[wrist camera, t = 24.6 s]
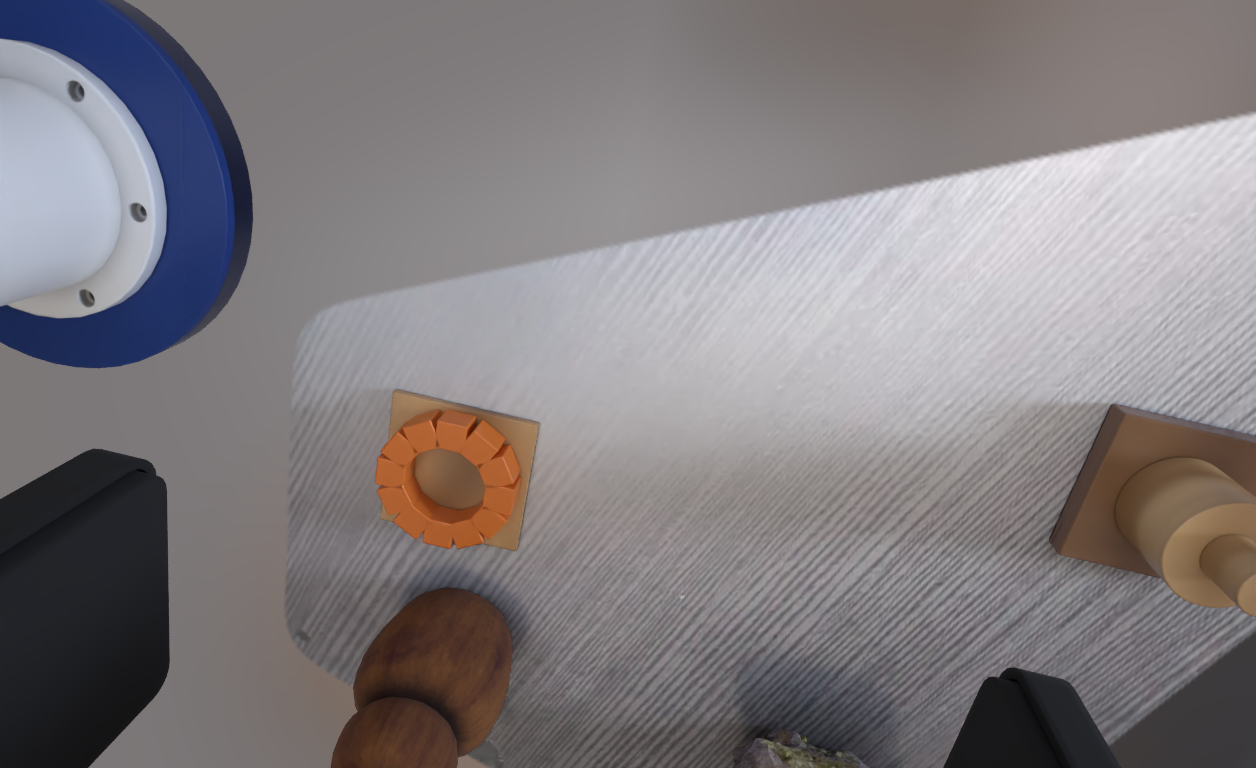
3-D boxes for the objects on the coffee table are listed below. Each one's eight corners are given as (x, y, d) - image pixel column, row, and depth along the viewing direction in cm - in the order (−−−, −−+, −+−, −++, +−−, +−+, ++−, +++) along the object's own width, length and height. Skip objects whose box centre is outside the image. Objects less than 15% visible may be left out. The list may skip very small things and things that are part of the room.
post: (1047, 540, 36) (1127, 650, 29) (1111, 402, 34) (1215, 485, 27) (1201, 576, 36) (1318, 695, 29) (1276, 440, 33) (1425, 533, 26)
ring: (393, 396, 37) (381, 407, 36) (530, 428, 37) (523, 440, 35) (382, 516, 39) (370, 530, 38) (510, 546, 39) (502, 562, 38)
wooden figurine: (544, 606, 41) (449, 876, 27) (502, 684, 43) (394, 973, 29) (424, 550, 40) (264, 793, 26) (388, 631, 42) (222, 897, 28)
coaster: (383, 515, 40) (380, 519, 39) (396, 388, 37) (392, 391, 37) (517, 547, 40) (515, 551, 39) (539, 422, 37) (537, 425, 37)
